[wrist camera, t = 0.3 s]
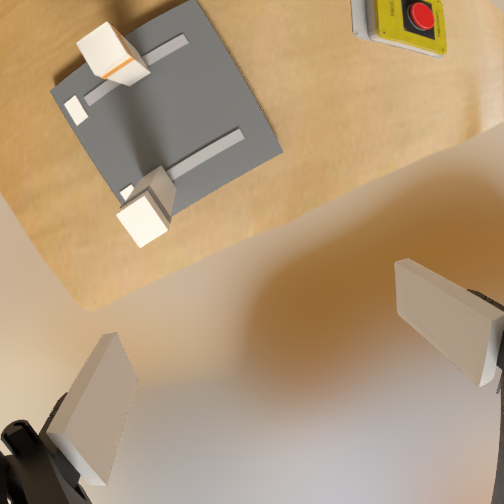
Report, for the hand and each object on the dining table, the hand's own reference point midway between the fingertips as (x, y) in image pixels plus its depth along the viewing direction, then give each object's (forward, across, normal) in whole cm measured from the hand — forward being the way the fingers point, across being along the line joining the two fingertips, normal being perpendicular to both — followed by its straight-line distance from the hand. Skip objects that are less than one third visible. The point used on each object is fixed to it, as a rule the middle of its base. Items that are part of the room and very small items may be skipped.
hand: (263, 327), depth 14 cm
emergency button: (+22, +27, +24) cm, 42 cm away
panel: (+22, -5, +15) cm, 27 cm away
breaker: (+21, -7, +7) cm, 23 cm away
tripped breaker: (+19, -6, +20) cm, 28 cm away
